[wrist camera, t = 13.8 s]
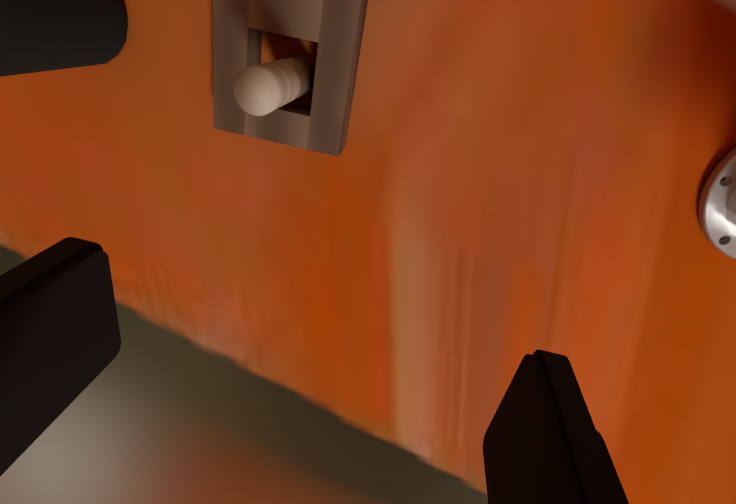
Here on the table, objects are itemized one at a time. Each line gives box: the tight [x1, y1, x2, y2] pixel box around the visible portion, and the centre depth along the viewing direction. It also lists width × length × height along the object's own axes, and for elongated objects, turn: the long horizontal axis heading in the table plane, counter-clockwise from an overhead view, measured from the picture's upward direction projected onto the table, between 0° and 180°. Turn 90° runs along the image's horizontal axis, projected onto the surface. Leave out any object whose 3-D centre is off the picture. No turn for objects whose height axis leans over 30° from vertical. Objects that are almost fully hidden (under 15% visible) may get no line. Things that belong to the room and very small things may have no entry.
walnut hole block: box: [213, 0, 368, 156], centre depth 32 cm, size 11×21×3 cm, turn 170°
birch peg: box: [233, 55, 315, 116], centre depth 31 cm, size 3×3×10 cm
